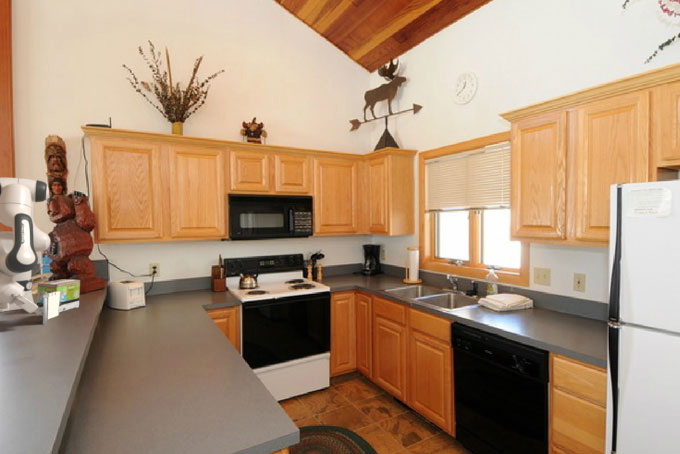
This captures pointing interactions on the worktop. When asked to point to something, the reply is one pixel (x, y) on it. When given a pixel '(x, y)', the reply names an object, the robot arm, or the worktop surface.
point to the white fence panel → (52, 304)
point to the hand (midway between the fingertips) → (40, 313)
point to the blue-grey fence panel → (45, 309)
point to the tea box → (67, 293)
